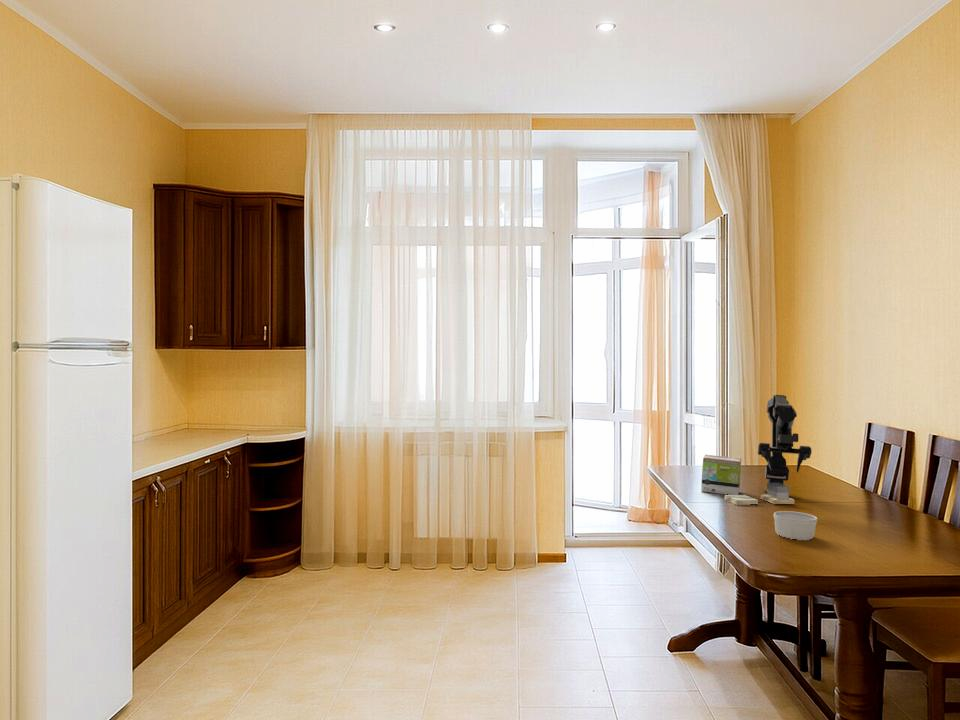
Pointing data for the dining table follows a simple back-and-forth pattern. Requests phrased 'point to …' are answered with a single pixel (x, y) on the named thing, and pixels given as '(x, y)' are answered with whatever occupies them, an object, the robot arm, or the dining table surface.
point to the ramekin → (795, 525)
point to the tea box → (721, 474)
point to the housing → (777, 490)
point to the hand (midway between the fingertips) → (784, 471)
